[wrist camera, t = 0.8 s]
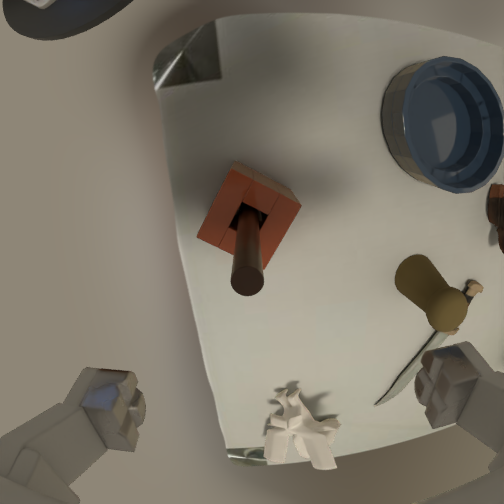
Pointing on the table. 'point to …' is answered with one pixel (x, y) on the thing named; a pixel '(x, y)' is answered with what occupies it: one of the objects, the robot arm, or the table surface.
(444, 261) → the table surface
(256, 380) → the table surface
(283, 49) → the table surface
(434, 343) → the knife
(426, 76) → the bowl
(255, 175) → the holder
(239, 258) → the stick
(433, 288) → the pepper shaker
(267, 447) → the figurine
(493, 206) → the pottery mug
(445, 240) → the table surface
